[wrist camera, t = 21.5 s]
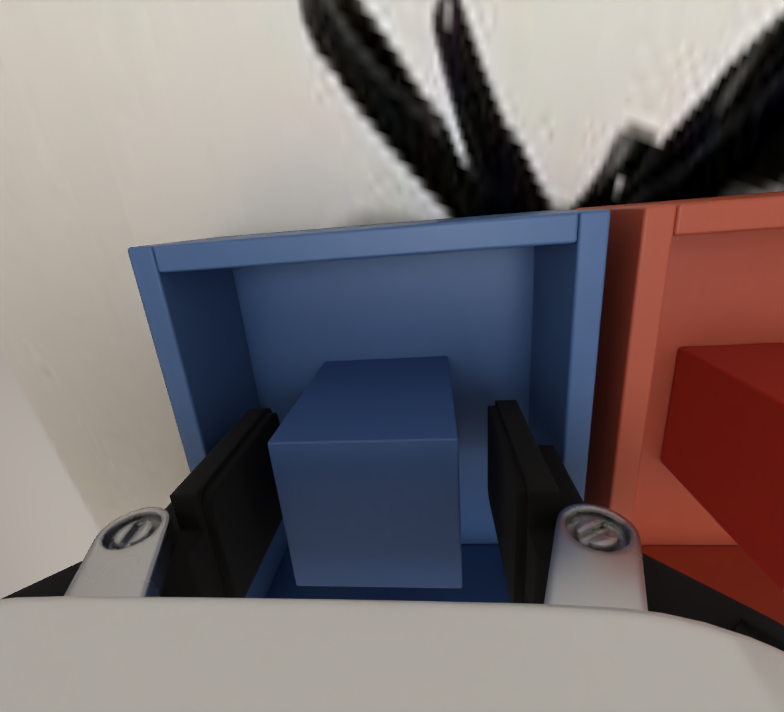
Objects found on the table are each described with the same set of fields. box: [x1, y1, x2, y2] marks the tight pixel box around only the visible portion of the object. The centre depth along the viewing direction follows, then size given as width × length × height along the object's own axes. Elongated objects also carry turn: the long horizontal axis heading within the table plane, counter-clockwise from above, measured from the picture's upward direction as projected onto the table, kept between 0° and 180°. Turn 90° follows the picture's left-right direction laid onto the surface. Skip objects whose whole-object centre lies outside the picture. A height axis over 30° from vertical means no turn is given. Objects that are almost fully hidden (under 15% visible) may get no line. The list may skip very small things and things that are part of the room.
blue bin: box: [128, 209, 610, 603], centre depth 12 cm, size 10×12×4 cm
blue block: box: [268, 356, 462, 588], centre depth 11 cm, size 4×4×5 cm
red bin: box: [575, 191, 784, 626], centre depth 11 cm, size 10×12×4 cm
